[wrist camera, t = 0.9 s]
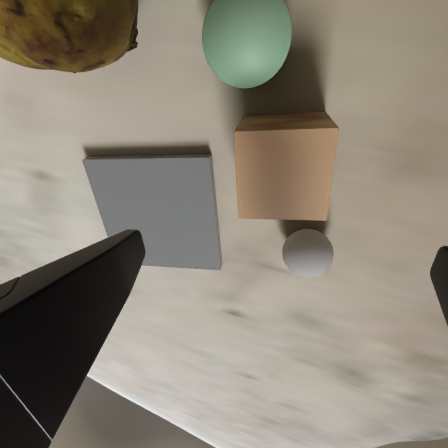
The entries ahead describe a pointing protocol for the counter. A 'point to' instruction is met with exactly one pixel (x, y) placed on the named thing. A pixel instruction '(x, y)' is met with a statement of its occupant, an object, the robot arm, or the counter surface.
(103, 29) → the potato
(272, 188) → the tan block
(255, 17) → the mint green dome
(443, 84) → the counter surface
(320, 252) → the grey ball
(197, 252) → the slate board
